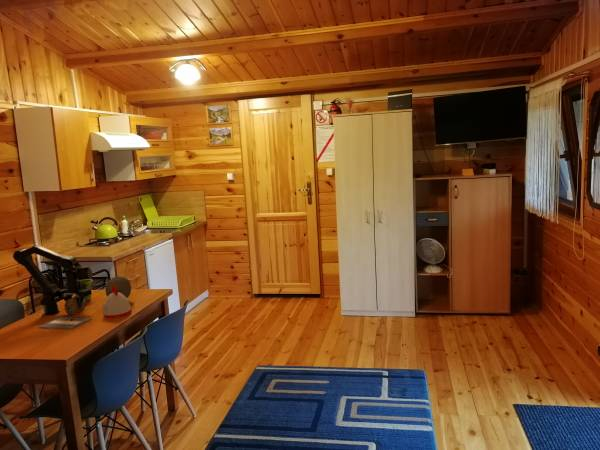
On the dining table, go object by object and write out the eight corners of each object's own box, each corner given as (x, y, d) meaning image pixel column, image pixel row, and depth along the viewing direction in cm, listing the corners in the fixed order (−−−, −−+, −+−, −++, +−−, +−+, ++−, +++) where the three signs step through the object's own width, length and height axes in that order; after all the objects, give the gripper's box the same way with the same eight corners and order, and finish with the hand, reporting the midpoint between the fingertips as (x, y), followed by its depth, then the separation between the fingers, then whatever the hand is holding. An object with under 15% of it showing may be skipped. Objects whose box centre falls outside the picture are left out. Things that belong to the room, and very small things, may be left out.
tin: (69, 316, 248) (67, 301, 246) (64, 316, 248) (62, 301, 247) (87, 307, 262) (85, 292, 261) (82, 307, 263) (80, 292, 261)
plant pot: (95, 295, 284) (92, 277, 282) (95, 301, 273) (92, 282, 271) (73, 299, 279) (70, 281, 278) (72, 304, 268) (70, 285, 267)
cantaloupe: (101, 305, 264) (97, 279, 261) (122, 297, 276) (119, 273, 273) (117, 308, 256) (114, 281, 254) (138, 300, 268) (135, 275, 266)
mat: (38, 327, 233) (38, 326, 233) (59, 318, 246) (59, 316, 246) (71, 329, 227) (71, 328, 227) (91, 319, 241) (91, 318, 241)
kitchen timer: (126, 307, 256) (123, 281, 254) (135, 313, 246) (131, 285, 243) (100, 314, 248) (96, 287, 246) (108, 320, 237) (104, 291, 235)
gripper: (96, 276, 258) (100, 303, 260) (68, 276, 263) (72, 303, 265) (82, 282, 247) (86, 310, 249) (53, 281, 252) (57, 309, 254)
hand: (76, 308), depth 255 cm, fingers open, 5 cm apart
